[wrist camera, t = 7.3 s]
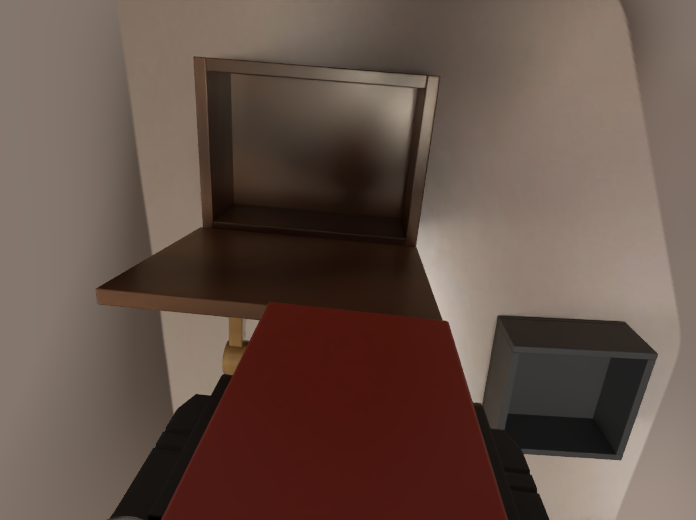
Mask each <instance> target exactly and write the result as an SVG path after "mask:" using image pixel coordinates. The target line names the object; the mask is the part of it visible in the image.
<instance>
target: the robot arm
mask: <svg viewBox="0 0 696 520" xmlns="http://www.w3.org/2000/svg"><path fill="white" fill-rule="evenodd" d="M232 376H233V375H229V374H223V375H222V376H221V378H220V380H219V381H218V383H217V385H216V387H215V389H214V391H213V393H212V395H211V396H208V395H199V394H196V395H194V396H193V397H192V398H191V399H189V400H188V401H187V402H186V403H184V404H183V405H182V406H180V407H179V408H178V409H177V410H176V412H175V414H174V415H173V417H172V419H171V420H170V422H169V424H168V425H167V427H166V430H165V432H163V433H162V435H161V437H160V438H159V440H158V442H157V443H156V447H155V448H153V450H152V451H151V453H150V454H149V456H148V458H147V459H146V461H145V463H144V464H143V466H142V467H141V469H140V471H139V472H138V474H137V476H136V477H135V479H134V481H133V482H132V484H131V486H130V487H129V489H128V490H127V492H126V494H125V495H124V497H123V499H122V500H121V502H120V503H119V505H118V507H117V508H116V510H115V512H114V513H113V514H112V516H111V517H110V519H108V520H161V519H162V517H163V515H164V513H165V511H166V509H167V507H168V505H169V503H170V501H171V499H172V497H173V495H174V493H175V491H176V489H177V487H178V485H179V483H180V481H181V479H182V477H183V475H184V473H185V471H186V469H187V467H188V464H189V462H190V460H191V458H192V456H193V454H194V452H195V450H196V448H197V446H198V444H199V442H200V440H201V438H202V436H203V434H204V432H205V430H206V428H207V426H208V424H209V422H210V420H211V418H212V416H213V414H214V412H215V410H216V408H217V406H218V404H219V402H220V400H221V398H222V396H223V394H224V392H225V390H226V388H227V386H228V384H229V382H230V380H231V378H232ZM473 405H474V409H475V412H476V415H477V419H478V422H479V425H480V429H481V432H482V435H483V439H484V442H485V445H486V449H487V452H488V455H489V458H490V462H491V465H492V468H493V472H494V475H495V478H496V482H497V485H498V488H499V492H500V495H501V498H502V502H503V505H504V508H505V511H506V515H507V518H508V520H549V518H548V515H547V513H546V510H545V508H544V505H543V503H542V500H541V498H540V495H539V494H537V487H536V485H535V482H534V480H533V477H532V475H530V470H529V467H528V465H527V462H526V460H525V457H524V455H523V452H522V450H521V448H520V447H519V446H518V445H517V444H516V442H515V441H514V440H513V439H512V438H511V437H510V435H509V434H508V433H507V432H506V431H505V430H501V429H493V428H490V425H489V422H488V419H487V416H486V413H485V410H484V408H483V406H482V404H480V403H473Z"/></svg>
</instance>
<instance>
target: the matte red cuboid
mask: <svg viewBox="0 0 696 520" xmlns="http://www.w3.org/2000/svg"><path fill="white" fill-rule="evenodd" d="M161 520H508V518H507V515H506V511H505V508H504V505H503V502H502V498H501V495H500V492H499V488H498V485H497V482H496V478H495V475H494V472H493V468H492V465H491V462H490V458H489V455H488V452H487V449H486V445H485V442H484V439H483V435H482V432H481V429H480V425H479V422H478V419H477V415H476V412H475V409H474V405H473V402H472V399H471V396H470V392H469V389H468V386H467V382H466V379H465V376H464V372H463V369H462V366H461V362H460V359H459V356H458V352H457V349H456V346H455V343H454V339H453V336H452V333H451V329H450V326H449V323H448V322H447V321H442V320H433V319H424V318H415V317H405V316H396V315H387V314H378V313H368V312H359V311H350V310H341V309H331V308H322V307H313V306H304V305H294V304H285V303H276V302H269V303H268V305H267V307H266V309H265V311H264V313H263V315H262V317H261V319H260V321H259V323H258V325H257V327H256V329H255V331H254V333H253V335H252V337H251V339H250V341H249V343H248V345H247V347H246V349H245V351H244V353H243V355H242V357H241V359H240V361H239V363H238V365H237V367H236V369H235V371H234V374H233V376H232V378H231V380H230V382H229V384H228V386H227V388H226V390H225V392H224V394H223V396H222V398H221V400H220V402H219V404H218V406H217V408H216V410H215V412H214V414H213V416H212V418H211V420H210V422H209V424H208V426H207V428H206V430H205V432H204V434H203V436H202V438H201V440H200V442H199V444H198V446H197V448H196V450H195V452H194V454H193V456H192V458H191V460H190V462H189V464H188V467H187V469H186V471H185V473H184V475H183V477H182V479H181V481H180V483H179V485H178V487H177V489H176V491H175V493H174V495H173V497H172V499H171V501H170V503H169V505H168V507H167V509H166V511H165V513H164V515H163V517H162V519H161Z"/></svg>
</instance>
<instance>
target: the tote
mask: <svg viewBox="0 0 696 520" xmlns="http://www.w3.org/2000/svg"><path fill="white" fill-rule="evenodd" d="M657 355H658V354H657V353H656V352H655V351H654V350H653V349H652V348H651V347H650V346H649V345H648V344H647V343H646V342H645V341H644V340H643V339H642V338H641V337H640V336H639V335H638V334H637V333H636V332H635V331H634V330H633V329H631V328H630V327H629V326H628V325H627V324H626V323H625V322H615V321H594V320H574V319H554V318H534V317H514V316H498V320H497V326H496V331H495V337H494V343H493V349H492V354H491V360H490V366H489V371H488V377H487V383H486V389H485V394H484V400H483V408H484V410H485V413H486V416H487V419H488V422H489V425H490V428H493V429H501V430H505V431H506V432H507V433H508V434H509V435H510V437H511V438H512V439H513V440H514V441H515V442H516V444H517V445H518V446H519V447H520V448H521V450H522V452H523V454H533V455H549V456H564V457H580V458H595V459H610V460H621V459H622V457H623V453H624V451H625V448H626V445H627V442H628V439H629V436H630V433H631V430H632V428H633V425H634V422H635V419H636V416H637V413H638V410H639V407H640V405H641V402H642V399H643V396H644V393H645V390H646V387H647V384H648V382H649V379H650V376H651V373H652V370H653V367H654V364H655V361H656V358H657Z"/></svg>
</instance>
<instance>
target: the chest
mask: <svg viewBox="0 0 696 520" xmlns="http://www.w3.org/2000/svg"><path fill="white" fill-rule="evenodd" d="M193 58H194V75H195V93H196V111H197V129H198V147H199V165H200V183H201V201H202V219H203V228H213V229H224V230H235V231H246V232H257V233H268V234H279V235H290V236H301V237H312V238H323V239H333V240H344V241H355V242H366V243H377V244H388V245H399V246H410V247H416V242H417V235H418V228H419V221H420V214H421V207H422V200H423V193H424V186H425V179H426V172H427V165H428V158H429V151H430V144H431V137H432V130H433V123H434V116H435V109H436V102H437V95H438V89H439V82H440V76H432V75H420V74H407V73H395V72H382V71H370V70H357V69H345V68H332V67H320V66H307V65H295V64H282V63H269V62H257V61H244V60H232V59H219V58H206V57H193Z"/></svg>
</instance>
